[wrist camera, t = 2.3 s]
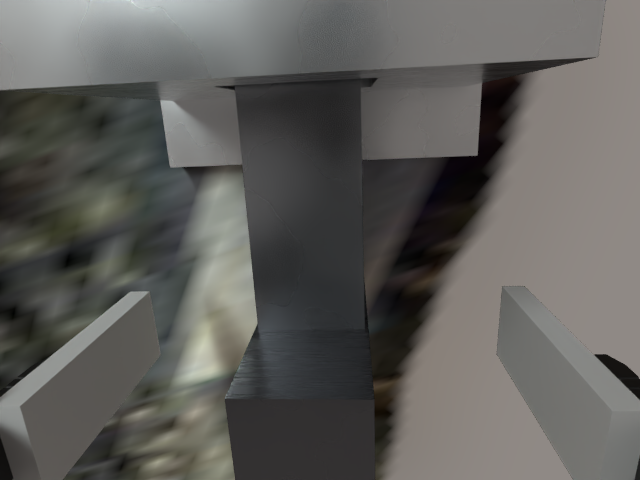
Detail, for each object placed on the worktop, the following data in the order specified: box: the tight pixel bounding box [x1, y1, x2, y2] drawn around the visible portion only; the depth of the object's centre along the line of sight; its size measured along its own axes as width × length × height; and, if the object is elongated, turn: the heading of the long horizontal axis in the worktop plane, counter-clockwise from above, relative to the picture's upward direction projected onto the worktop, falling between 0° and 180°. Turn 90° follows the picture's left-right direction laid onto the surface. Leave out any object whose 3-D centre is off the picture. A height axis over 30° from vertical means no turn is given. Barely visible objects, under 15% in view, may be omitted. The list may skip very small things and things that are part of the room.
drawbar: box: [225, 79, 375, 480], centre depth 10 cm, size 23×3×8 cm, turn 3°
